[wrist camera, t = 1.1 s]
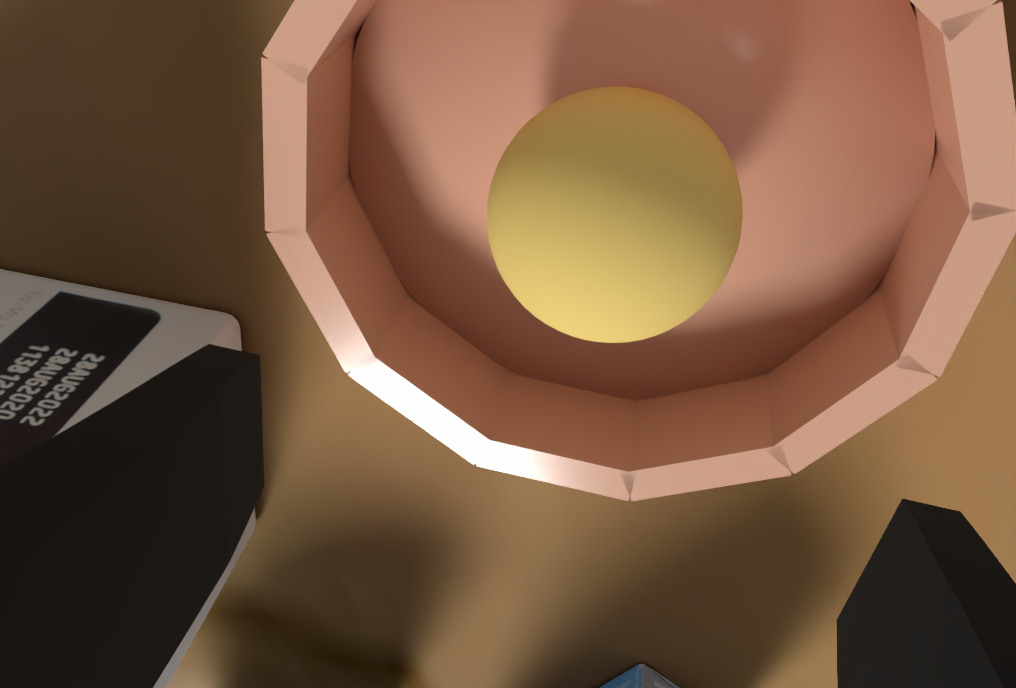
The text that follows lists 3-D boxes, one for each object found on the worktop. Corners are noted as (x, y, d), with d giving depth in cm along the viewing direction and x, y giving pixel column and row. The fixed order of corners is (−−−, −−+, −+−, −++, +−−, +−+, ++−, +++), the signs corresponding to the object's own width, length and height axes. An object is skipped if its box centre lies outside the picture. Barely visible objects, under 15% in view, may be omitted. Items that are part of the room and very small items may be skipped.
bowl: (1107, -143, 14) (1195, -111, 12) (831, 451, 22) (848, 552, 19) (332, -277, 15) (254, -276, 13) (320, 337, 22) (269, 418, 20)
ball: (769, 78, 16) (786, 178, 13) (705, 286, 19) (703, 418, 15) (528, 32, 17) (478, 116, 13) (497, 241, 19) (448, 361, 16)
